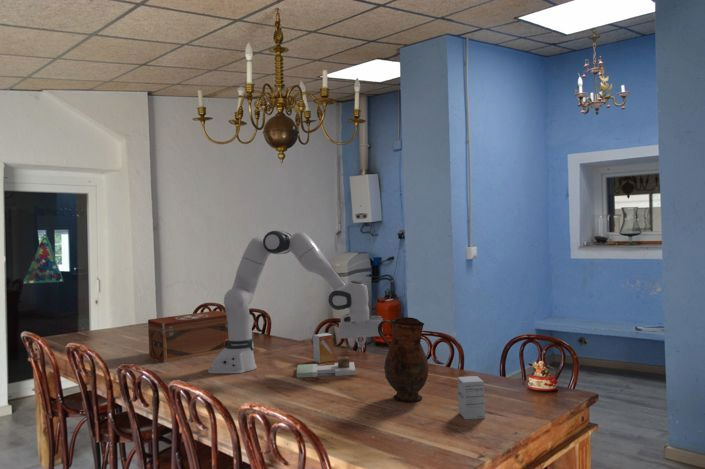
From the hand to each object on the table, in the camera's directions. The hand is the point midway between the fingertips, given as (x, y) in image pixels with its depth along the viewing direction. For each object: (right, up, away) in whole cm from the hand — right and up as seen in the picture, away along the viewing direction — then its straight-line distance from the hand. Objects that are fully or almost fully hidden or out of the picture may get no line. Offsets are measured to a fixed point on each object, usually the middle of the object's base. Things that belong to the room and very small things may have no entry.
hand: (361, 346), depth 274 cm
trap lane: (-16, -11, -1) cm, 19 cm away
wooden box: (-90, -13, +52) cm, 105 cm away
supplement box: (+37, -11, -69) cm, 79 cm away
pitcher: (+15, -11, -45) cm, 49 cm away
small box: (-18, -11, +21) cm, 30 cm away
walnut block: (-8, -9, 0) cm, 12 cm away
